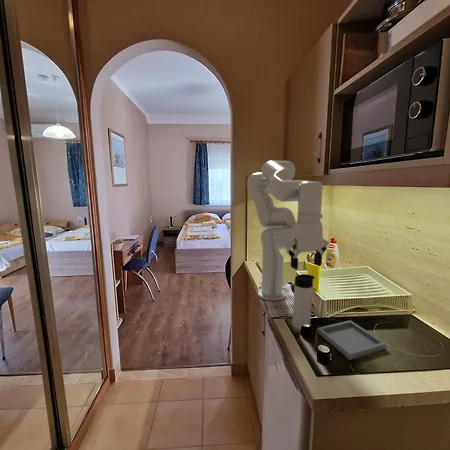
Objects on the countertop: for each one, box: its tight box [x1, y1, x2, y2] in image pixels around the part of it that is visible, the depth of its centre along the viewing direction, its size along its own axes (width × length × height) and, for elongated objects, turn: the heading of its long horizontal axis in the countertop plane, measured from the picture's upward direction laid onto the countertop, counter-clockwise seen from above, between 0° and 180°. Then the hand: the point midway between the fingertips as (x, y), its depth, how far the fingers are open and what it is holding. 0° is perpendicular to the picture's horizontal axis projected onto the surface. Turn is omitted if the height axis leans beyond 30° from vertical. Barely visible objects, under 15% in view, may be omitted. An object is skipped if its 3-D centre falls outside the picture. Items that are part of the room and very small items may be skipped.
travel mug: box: [291, 273, 315, 332], centre depth 98 cm, size 6×7×20 cm
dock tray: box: [316, 319, 387, 361], centre depth 92 cm, size 15×15×2 cm
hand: (306, 266), depth 95 cm, fingers open, 9 cm apart
